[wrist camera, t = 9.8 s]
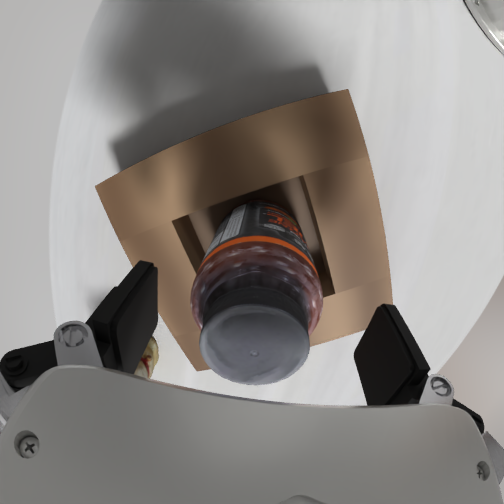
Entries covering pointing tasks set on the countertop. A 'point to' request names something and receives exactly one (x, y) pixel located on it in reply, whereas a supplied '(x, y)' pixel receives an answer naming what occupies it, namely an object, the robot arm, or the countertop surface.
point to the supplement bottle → (256, 296)
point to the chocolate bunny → (148, 360)
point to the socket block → (260, 188)
